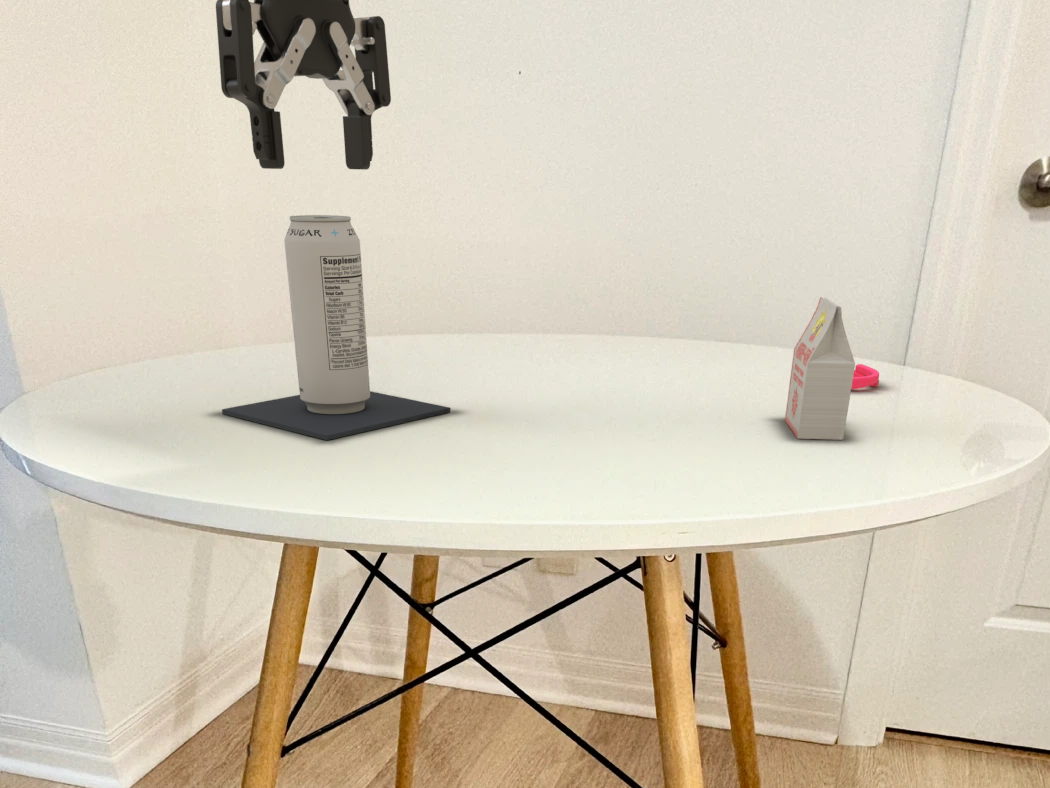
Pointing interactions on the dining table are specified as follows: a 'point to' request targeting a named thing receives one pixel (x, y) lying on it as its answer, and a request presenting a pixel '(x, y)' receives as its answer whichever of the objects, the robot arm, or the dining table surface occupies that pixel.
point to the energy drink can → (328, 313)
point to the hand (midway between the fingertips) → (316, 169)
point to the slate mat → (335, 415)
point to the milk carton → (821, 377)
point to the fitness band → (865, 377)
